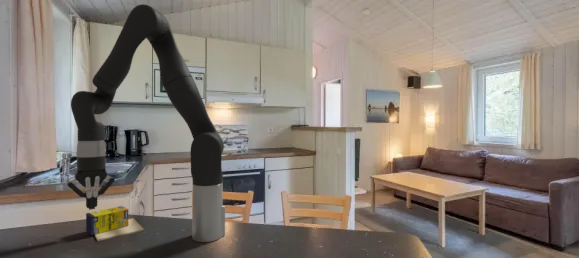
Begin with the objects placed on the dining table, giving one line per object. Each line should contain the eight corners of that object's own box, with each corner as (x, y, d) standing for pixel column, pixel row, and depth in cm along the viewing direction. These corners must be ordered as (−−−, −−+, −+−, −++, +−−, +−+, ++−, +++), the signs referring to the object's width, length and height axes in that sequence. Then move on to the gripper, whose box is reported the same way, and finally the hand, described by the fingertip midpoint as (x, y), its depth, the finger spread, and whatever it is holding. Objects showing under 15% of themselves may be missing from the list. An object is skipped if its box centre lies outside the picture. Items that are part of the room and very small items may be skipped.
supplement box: (91, 216, 89) (128, 208, 98) (85, 213, 93) (121, 205, 101) (92, 235, 89) (129, 225, 98) (85, 231, 93) (121, 222, 102)
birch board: (133, 219, 106) (133, 218, 106) (144, 230, 95) (144, 229, 95) (90, 228, 97) (90, 226, 97) (97, 241, 86) (97, 239, 86)
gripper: (66, 157, 83) (66, 216, 84) (117, 154, 92) (118, 207, 93) (64, 155, 89) (64, 210, 89) (113, 152, 98) (113, 202, 98)
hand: (91, 208), depth 91 cm, fingers closed
